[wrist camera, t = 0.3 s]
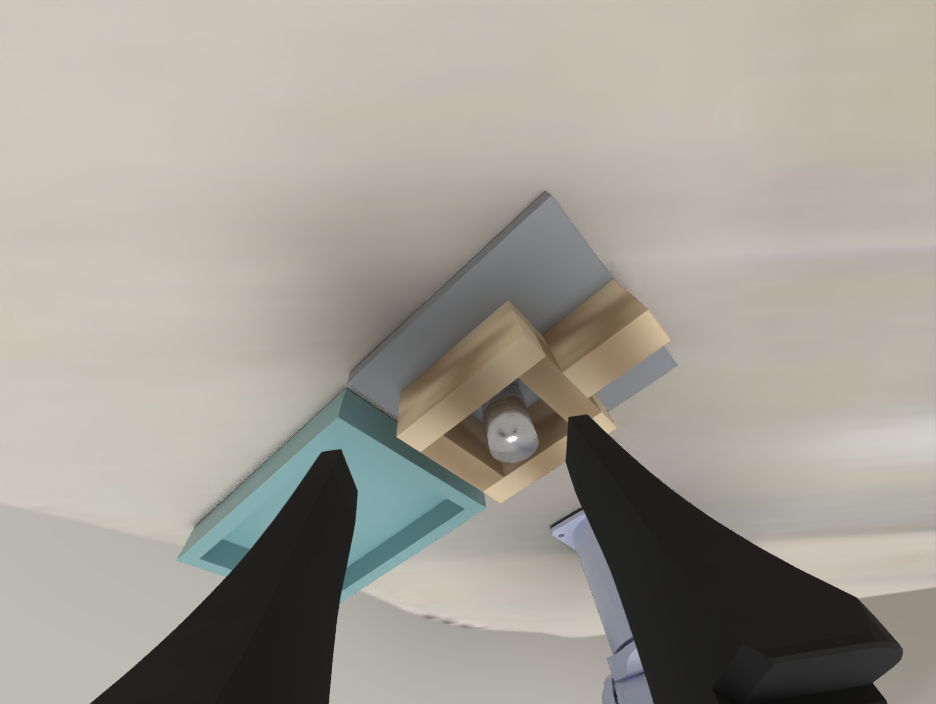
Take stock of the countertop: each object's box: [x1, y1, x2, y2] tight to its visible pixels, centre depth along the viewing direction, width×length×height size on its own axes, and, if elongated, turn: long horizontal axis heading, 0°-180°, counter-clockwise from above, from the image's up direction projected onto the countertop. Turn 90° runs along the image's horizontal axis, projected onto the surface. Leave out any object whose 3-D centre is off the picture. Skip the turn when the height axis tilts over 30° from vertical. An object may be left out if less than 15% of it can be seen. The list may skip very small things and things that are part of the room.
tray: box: [177, 388, 486, 603], centre depth 26 cm, size 12×17×2 cm
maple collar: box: [396, 279, 671, 503], centre depth 20 cm, size 12×8×4 cm, turn 133°
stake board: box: [347, 191, 677, 463], centre depth 20 cm, size 14×13×5 cm
